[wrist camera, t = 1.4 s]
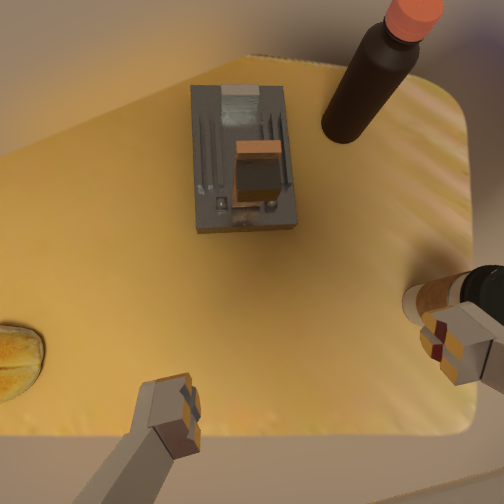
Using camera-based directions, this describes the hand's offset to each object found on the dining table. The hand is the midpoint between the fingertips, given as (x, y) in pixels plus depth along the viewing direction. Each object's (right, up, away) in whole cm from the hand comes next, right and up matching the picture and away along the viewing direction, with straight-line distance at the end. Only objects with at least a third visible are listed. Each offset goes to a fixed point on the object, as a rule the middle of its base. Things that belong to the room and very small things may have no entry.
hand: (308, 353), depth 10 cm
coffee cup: (+23, -5, +34) cm, 41 cm away
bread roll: (-33, -10, +28) cm, 44 cm away
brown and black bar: (-3, +9, +30) cm, 32 cm away
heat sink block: (-4, +17, +35) cm, 40 cm away
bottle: (+13, +24, +38) cm, 47 cm away
